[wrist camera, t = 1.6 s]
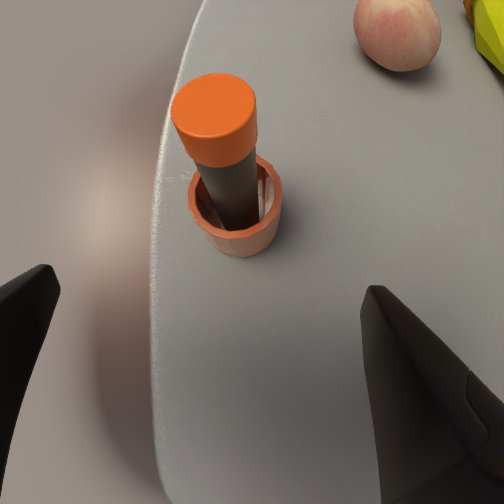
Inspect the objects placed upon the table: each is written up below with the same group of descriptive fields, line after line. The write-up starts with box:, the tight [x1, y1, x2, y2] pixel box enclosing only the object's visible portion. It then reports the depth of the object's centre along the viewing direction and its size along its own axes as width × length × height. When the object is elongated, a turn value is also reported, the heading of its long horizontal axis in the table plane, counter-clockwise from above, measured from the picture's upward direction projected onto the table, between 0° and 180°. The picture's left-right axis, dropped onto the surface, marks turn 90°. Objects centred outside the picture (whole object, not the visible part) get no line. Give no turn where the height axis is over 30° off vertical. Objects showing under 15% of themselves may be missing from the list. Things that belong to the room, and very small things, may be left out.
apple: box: [353, 0, 441, 71], centre depth 20 cm, size 8×8×8 cm
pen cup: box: [188, 155, 283, 257], centre depth 19 cm, size 5×5×5 cm
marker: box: [171, 74, 260, 231], centre depth 15 cm, size 3×3×12 cm
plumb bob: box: [463, 0, 504, 75], centre depth 21 cm, size 9×9×25 cm
